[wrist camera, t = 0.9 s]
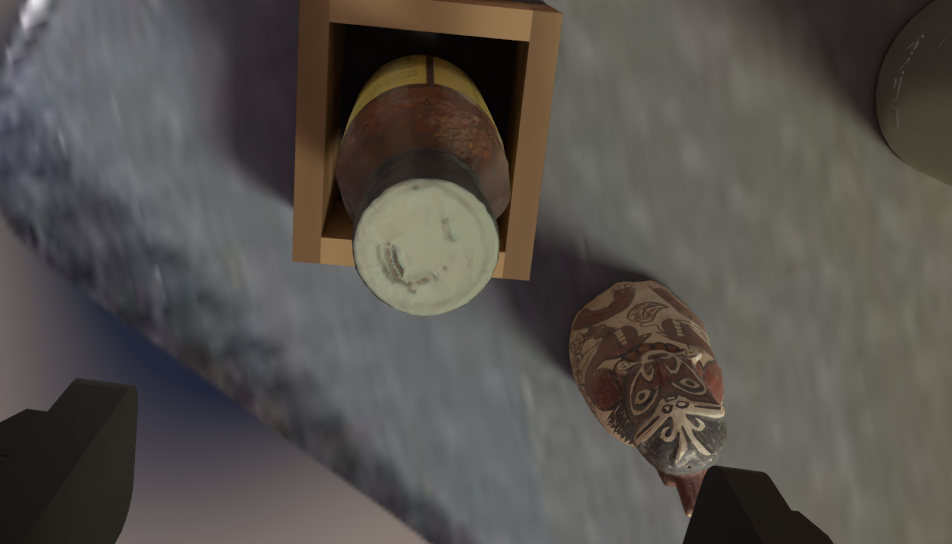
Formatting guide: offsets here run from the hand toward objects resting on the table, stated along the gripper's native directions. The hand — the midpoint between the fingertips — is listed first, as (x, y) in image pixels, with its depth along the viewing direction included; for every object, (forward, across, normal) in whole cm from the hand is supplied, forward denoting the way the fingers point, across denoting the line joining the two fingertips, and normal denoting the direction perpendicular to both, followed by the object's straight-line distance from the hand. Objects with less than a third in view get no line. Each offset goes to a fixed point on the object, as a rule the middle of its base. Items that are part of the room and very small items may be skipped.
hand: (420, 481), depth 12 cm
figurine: (+32, -13, +10) cm, 36 cm away
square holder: (+32, 0, 0) cm, 32 cm away
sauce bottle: (+32, 0, 0) cm, 32 cm away
